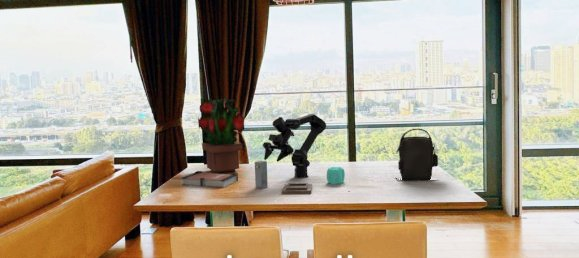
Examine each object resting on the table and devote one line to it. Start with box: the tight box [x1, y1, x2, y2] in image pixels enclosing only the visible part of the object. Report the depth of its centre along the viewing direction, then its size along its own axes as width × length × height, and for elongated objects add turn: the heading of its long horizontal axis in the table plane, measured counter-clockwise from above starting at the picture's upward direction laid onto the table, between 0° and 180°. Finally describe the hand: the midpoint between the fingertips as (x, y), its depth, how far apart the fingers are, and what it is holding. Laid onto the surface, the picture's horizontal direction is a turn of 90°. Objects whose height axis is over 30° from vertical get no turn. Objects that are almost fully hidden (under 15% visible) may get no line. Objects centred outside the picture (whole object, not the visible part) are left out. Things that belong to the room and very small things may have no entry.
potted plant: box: [197, 98, 245, 174], centre depth 296 cm, size 22×22×45 cm
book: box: [181, 170, 239, 188], centre depth 265 cm, size 26×18×5 cm
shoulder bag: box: [395, 128, 439, 182], centre depth 259 cm, size 23×9×28 cm, turn 87°
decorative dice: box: [326, 166, 346, 185], centre depth 257 cm, size 8×8×8 cm
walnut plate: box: [281, 182, 313, 195], centre depth 243 cm, size 14×14×2 cm
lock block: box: [254, 160, 268, 190], centre depth 250 cm, size 5×4×14 cm
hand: (270, 160), depth 255 cm, fingers open, 9 cm apart
